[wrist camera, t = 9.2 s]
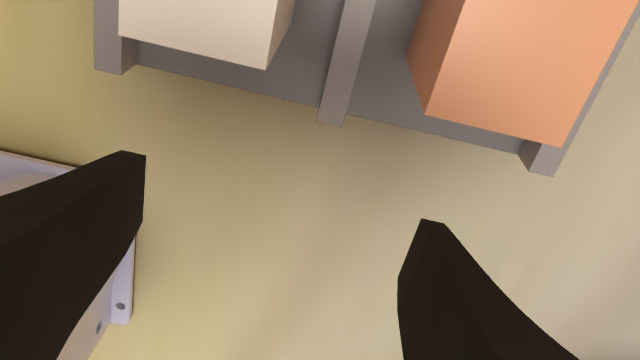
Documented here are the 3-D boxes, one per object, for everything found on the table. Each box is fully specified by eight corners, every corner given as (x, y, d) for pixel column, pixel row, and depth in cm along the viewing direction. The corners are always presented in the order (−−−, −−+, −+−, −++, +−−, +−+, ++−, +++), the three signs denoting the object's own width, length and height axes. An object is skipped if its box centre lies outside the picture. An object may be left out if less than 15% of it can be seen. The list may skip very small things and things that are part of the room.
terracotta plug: (505, 81, 19) (561, 147, 14) (405, 56, 19) (424, 114, 14) (579, -92, 16) (686, -90, 11) (462, -123, 16) (514, -137, 11)
